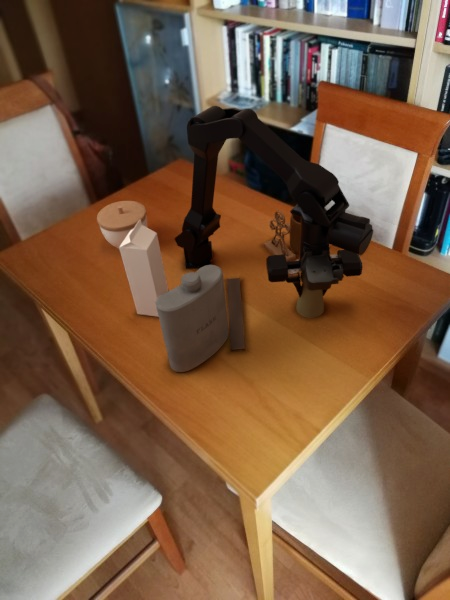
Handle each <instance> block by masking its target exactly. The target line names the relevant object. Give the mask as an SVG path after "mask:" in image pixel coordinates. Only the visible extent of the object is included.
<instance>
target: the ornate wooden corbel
mask: <svg viewBox="0 0 450 600" xmlns="http://www.w3.org/2000/svg"><path fill="white" fill-rule="evenodd" d="M273 222H274V223H273ZM275 223H276V225H275ZM269 229H270V230H271V231H275V232H274V235H273V237H272V239H270V240H268V241H266V242H264V243H263V247H264V248H265V249H266V250H267V251H268V252H269V253H271V255H282V254H285V256H286V261H294V260H295V259H297V254H296V253H295V252H293V251H292V250H291V249H289V248H288V247H287V243H286V240H285V236H286V235H290V231H291V227H290V223H288V222H286V216H285V214H284V212H283V211H282V210H280V209H279V210H275V212H274V218H273V219H271V220H270V221H269ZM282 229H285V230H286V232H285V231H283V230H282ZM277 237H278V238H279V239H278V238H277Z"/></svg>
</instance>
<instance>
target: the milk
mask: <svg viewBox="0 0 450 600" xmlns="http://www.w3.org/2000/svg"><path fill="white" fill-rule="evenodd" d="M118 250H119V253H120V257H121V260H122V263H123V267H124V270H125V275H126V278H127V281H128V285H129V289H130V292H131V295H132V299H133V303H134V306H135V310H136V314H137V315H142V316H149V317H150V316H151V317H157V318H159V316H158V312H157V308H156V303H155V302H156V299H157V298H158V297H159V296H160V295H162V294H164V293H166V292H168V291H170V290H169V285H168V281H167V275H166V272H165V271H166V270H165V266H164V263H163V256H162V252H161V247H160V242H159V237H158V232H156V231H154V230H152V229H150V228H149V227H148V228H147V227H145V226H143V225H142V223H141V219H140V220H139V221H138V223H137V224H136V226H135V227H134V229H132V230H130V232H129V233H128V235H127V236H126V238H125V239H124V241H123V242H122V244H121V245H120V247H119V249H118Z"/></svg>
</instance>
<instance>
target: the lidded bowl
mask: <svg viewBox="0 0 450 600" xmlns="http://www.w3.org/2000/svg"><path fill="white" fill-rule="evenodd" d="M140 219H141V223H142V225H143V226H145V227H147V228H149V225H148V216H147V209H146V207H145V206H144V204H142V203H141V202H139V201H135V200H120V201H115V202H112V203H110V204H107V205H106V206H104V207H102V209H100V211H99V212H98V213H97V215H96V221H97V224H98V226H99V229H100V232H101V233H102V236H103V237H104V239H105V240H106V241H107V243H108V244H110V245H111V246H113V247H115V248H117V249H118V250H120V249H119V247H120V245H121V244H122V242H123V241H124V239H125V238H126V236H127V235H128V233H129V232H130V230H132V229H134V227H135V226H136V224H137V223H138V221H139V220H140Z"/></svg>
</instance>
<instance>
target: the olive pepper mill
mask: <svg viewBox="0 0 450 600" xmlns="http://www.w3.org/2000/svg"><path fill="white" fill-rule="evenodd" d="M299 275H300V280H301V289H302V295H301V297H299V296H298V298H297V302H296V305H295V308H296V311H297V313H298V314H299V315H301V316H302V317H304V318H308V319H312V318H317V317H320V316H321V315H322V314H323V313H324V311H325V304H324V303H325V302H324V296H323V289H321V290H314V291H310V290H308V289H307V287H306V280H305V272H301V271H300V273H299Z"/></svg>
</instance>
